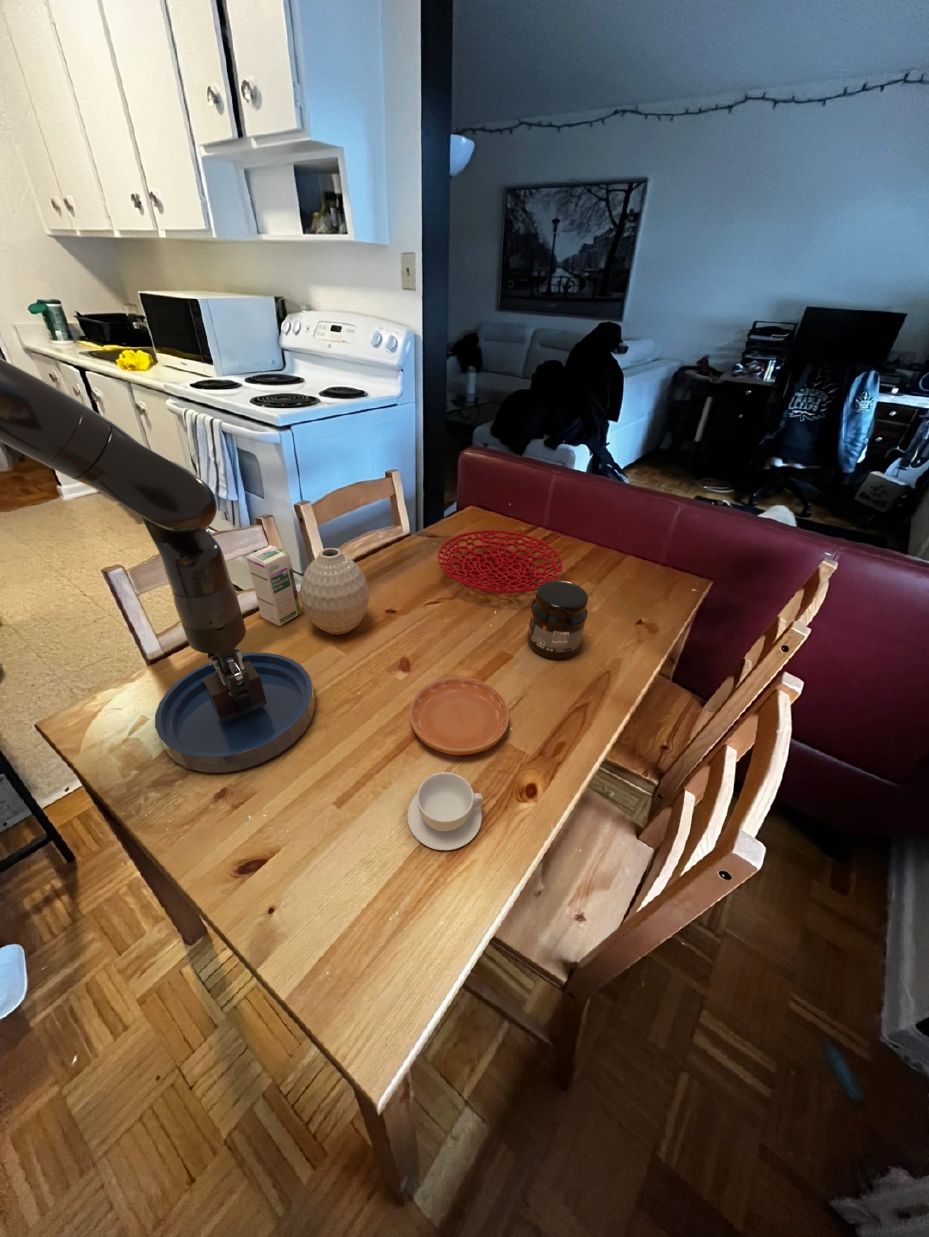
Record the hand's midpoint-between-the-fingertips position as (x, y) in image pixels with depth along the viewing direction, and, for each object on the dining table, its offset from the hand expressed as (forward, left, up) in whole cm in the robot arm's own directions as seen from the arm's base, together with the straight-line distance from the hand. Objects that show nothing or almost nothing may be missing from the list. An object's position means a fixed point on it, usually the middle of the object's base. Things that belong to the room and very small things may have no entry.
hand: (237, 699), depth 78 cm
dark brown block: (0, 0, -1) cm, 1 cm away
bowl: (+64, +9, -4) cm, 65 cm away
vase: (+24, +13, -4) cm, 27 cm away
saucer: (+27, -22, -4) cm, 35 cm away
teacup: (+15, -34, -4) cm, 37 cm away
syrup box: (+16, +23, -4) cm, 28 cm away
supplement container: (+55, -17, -4) cm, 58 cm away
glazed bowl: (0, 0, -4) cm, 4 cm away
